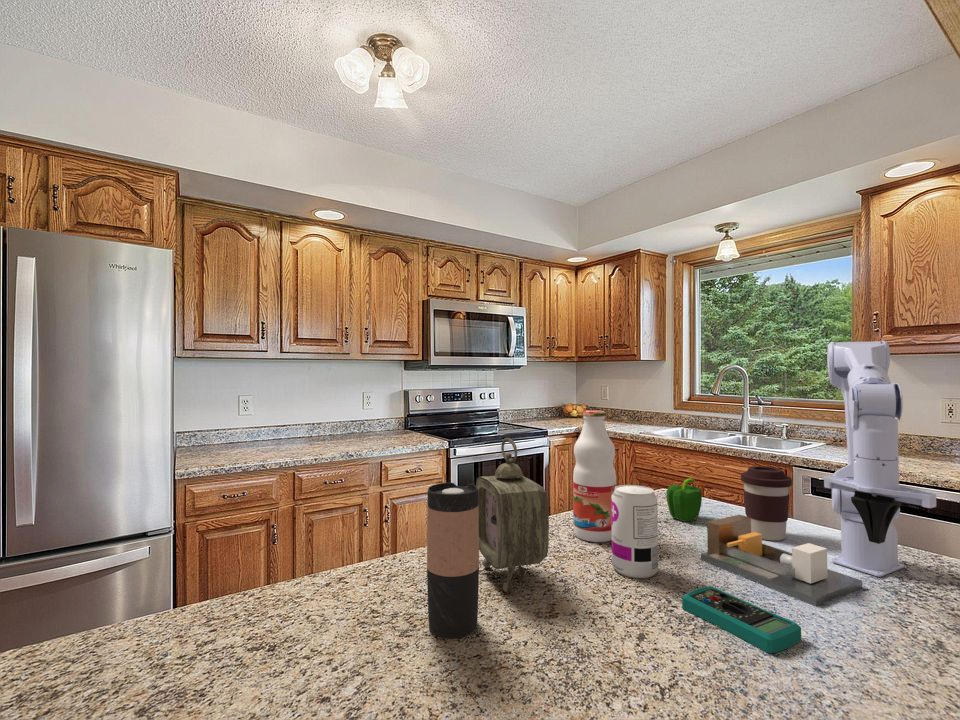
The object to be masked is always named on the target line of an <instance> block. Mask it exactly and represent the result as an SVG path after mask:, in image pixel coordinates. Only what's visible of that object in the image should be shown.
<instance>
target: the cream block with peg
mask: <svg viewBox="0 0 960 720" xmlns="http://www.w3.org/2000/svg"><path fill="white" fill-rule="evenodd" d="M791 553H792V556H791V555H788V554H785V553H783V554H782V555H781V557H780V563H781V564H784V565H787V566H790V567H793V568H795V578H797V579H800V580H802V581H805V582H808V583H810V584H811V583H814V582H817V581H820V580H823V579H825V578H827V569H828V548H827V547H823V546H821V545H820V546H819V545H816V544H813V543H810V542H807V543H804V544H801V545H797V546H794V547H791Z"/></svg>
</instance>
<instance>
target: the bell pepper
mask: <svg viewBox="0 0 960 720" xmlns="http://www.w3.org/2000/svg"><path fill="white" fill-rule="evenodd" d="M694 482H695V478H694V479H693V478H691V477H690V478H686V479H685V480H684V481H683V483H682V485H681V486H680V485H679V484H675V483H673V484H671V485H670V486H668V487H667V489H666V493H665V494H666V502H667V506H668V507H667V508H668V511H669V514H670V516H671V517H672V519H673V518H674V519H677V520H680V521H681V522H694V521H695V520H696V519H698V518H699V515H700V511H701V507H702V499H703V495H702V494H703V492H702V490H701V488H700V487H696V486H693V485H691V484H689V483H694Z"/></svg>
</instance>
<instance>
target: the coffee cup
mask: <svg viewBox="0 0 960 720" xmlns="http://www.w3.org/2000/svg"><path fill="white" fill-rule="evenodd" d="M740 481H741V482H743V501H744V511H745V516H746V517H750V518H751V533H753V532H756V533H759V534H762V540H765V541H771V542H772V541H773V542H775V541H776V542H779V541H783V540H785V539H786V536H787V521H788V520H789V507H790V493H789V491H790V490H789V487H792V485H793V478H792V477H791V476H789V475H786V474H785V471H784V470H783V469H781V468H778V467H774V466H773V467H772V466H765V465H764V466H763V465H759V466H758V465H753V466H749V467H748V469H747V470H746V471H744V472H741V474H740Z"/></svg>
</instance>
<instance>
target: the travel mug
mask: <svg viewBox="0 0 960 720" xmlns="http://www.w3.org/2000/svg"><path fill="white" fill-rule="evenodd" d="M426 505H427V506H426V507H427V515H426V516H427V518H426V520H427V521H426V526H427V527H426V533H427V534H426V578H427V579H426V582H427V584H426V585H427V588H426V589H427V615H428V616H427V618H428V629H429V630H430V632H431V633H432V634H434V635H435V636H438V637H440V638H443V639H444V638H445V639H460V638H465V637H467V636H469V635H471V634H472V633H474V632H475V631H476V629H477V627H478V617H479V613H478V612H479V586H480V584H479V583H480V579H479V578H480V550H479V511H478V487H477V486H476V484H473V483H468V484H467V485H466V486H459V485H457V484H456V483H454V482H442V483H441V482H440V483H436V484H433V485H430V486H429V487H428V488H427V504H426Z"/></svg>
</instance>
